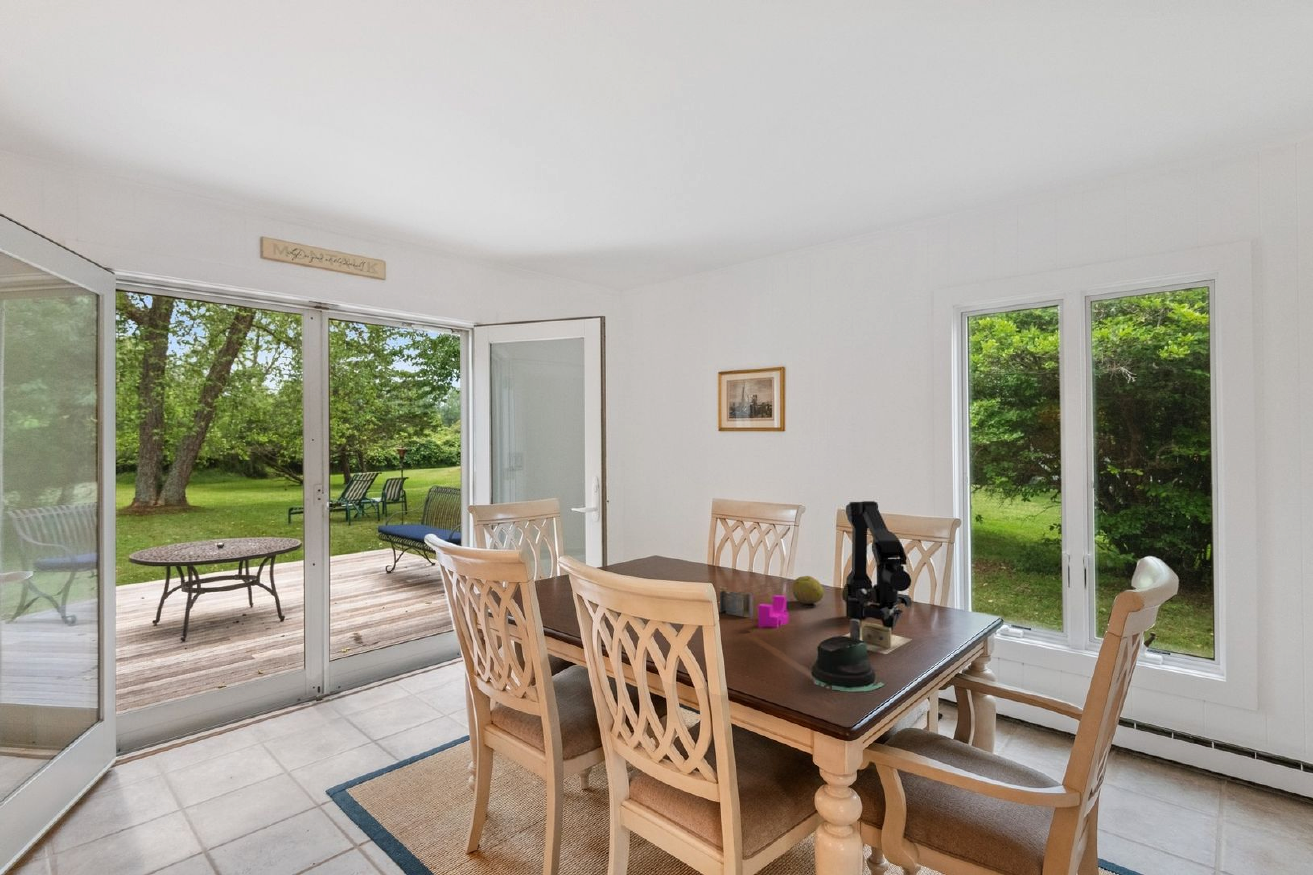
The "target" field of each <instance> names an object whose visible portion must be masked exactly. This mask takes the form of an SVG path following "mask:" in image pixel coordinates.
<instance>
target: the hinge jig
mask: <svg viewBox="0 0 1313 875" xmlns="http://www.w3.org/2000/svg"><path fill="white" fill-rule="evenodd" d="M843 636H847V637H851V638H855V639H860V640H861V641H864V642H865V643H866V644H867V651H872V652H875V653H878V654H882V655H887V654H890V653H891V652H893V651H895V650H896V649H898V648H900V647H902V646H904V645H906V644H907V643H909V642H911V641H912V640H913V639H912V638H908V637H905V636H899V635H896V634H891V646H890V647H889V632H888V631H884V630H879V629H875V628H871V627H866V626H863V640H862V627H861V620H860V619H858V618H851V619H850V620H849V633H847V634H845V635H843Z"/></svg>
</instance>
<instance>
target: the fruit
mask: <svg viewBox="0 0 1313 875" xmlns="http://www.w3.org/2000/svg"><path fill="white" fill-rule="evenodd" d="M793 581H794V582H793V583H792V585H791V586H792V587H791V589H792V595H793V597H794V598H795V599H796V600H797V602H800V603H801V604H803V605H813V604H816V603H818V602H820V601H821V600H822V599H823V598H824V595H825V593H824V588H823V586H822V585H821V583H820V581H819V580H818V579H816V578H814V577H813V576H810V575H805V576H802V575H801V576H799V577H797V578H796V579H795V580H793Z"/></svg>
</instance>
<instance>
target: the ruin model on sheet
mask: <svg viewBox="0 0 1313 875" xmlns="http://www.w3.org/2000/svg"><path fill="white" fill-rule="evenodd" d="M727 588H728V587H722V586H719V589H720V590H721V591H719V614H722V613H724V611H726V612H725V614H726V615H730V614H731V616H737V617H738V616H739V617H744V618H752V617H753V616H754V595H753V594H751V593H743V592H737V591H736V592H735V591H730V590H727ZM721 612H722V613H721Z"/></svg>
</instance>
